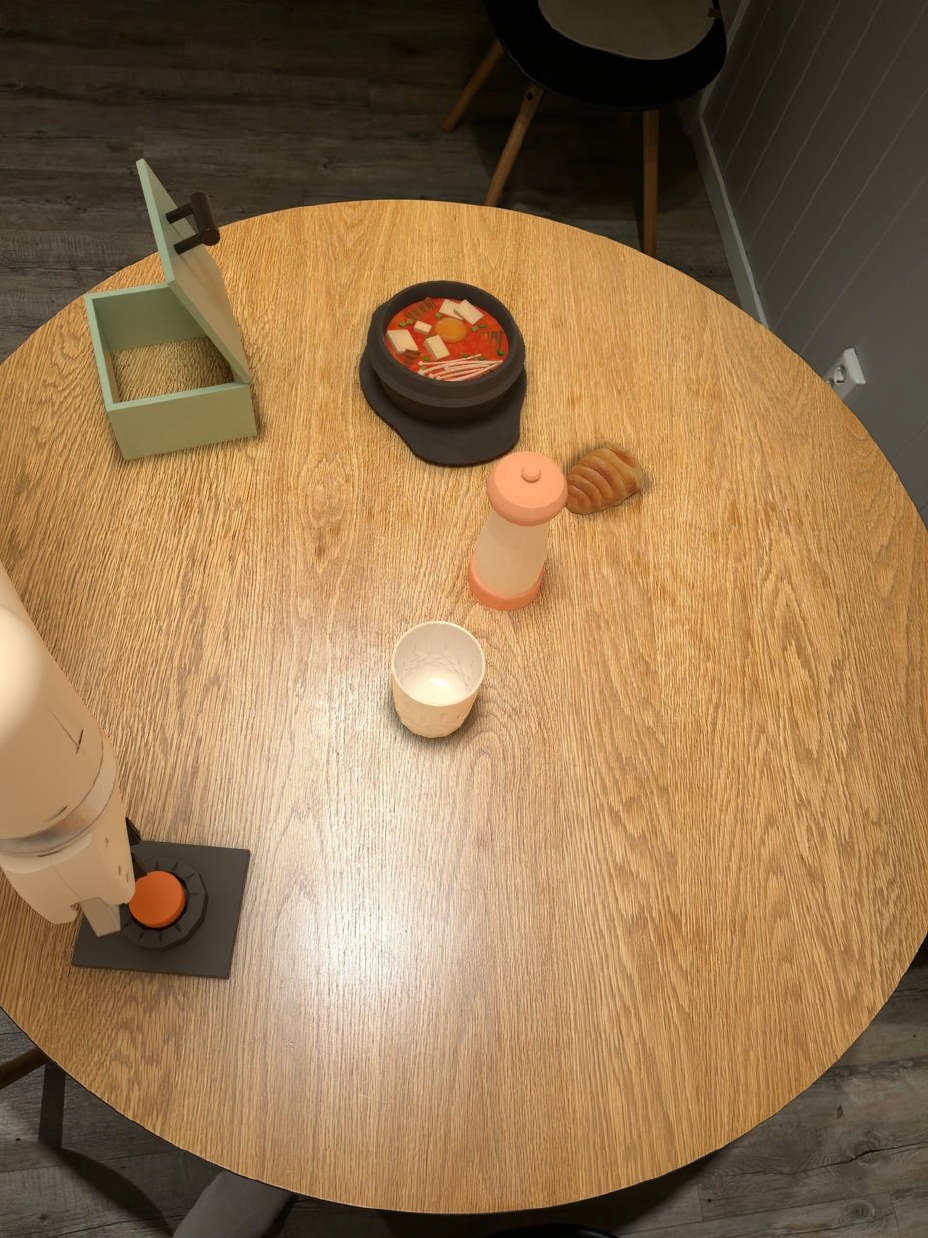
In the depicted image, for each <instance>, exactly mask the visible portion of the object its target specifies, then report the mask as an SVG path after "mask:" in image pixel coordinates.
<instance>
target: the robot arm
mask: <svg viewBox="0 0 928 1238" xmlns="http://www.w3.org/2000/svg"><path fill="white" fill-rule="evenodd" d="M71 683H72V682H70V680H69V678H67V676H66V674H65V673H64V672H63V670H62V669H61V667H60V666H59V664H58V663H57V661H56V660H55V659H54V657H53V656H52V654H51V652H50V650H49V649H48V647H47V645H46V644H45V641H44V639H43V638H42V636H41V635H40V632H39V631H38V629H37V627H36V626H35V624H34V622H33V620H32V619H31V617H30V615H29V612H28V611H27V609H26V607H25V605H24V603H23V601H22V600H21V598H20V596H19V594H18V592H17V590H16V587H14V584H13V582H12V581H11V578H10V576H9V574H8V572H7V569H6V568H5V566H4V564H3V562H2V560H1V559H0V868H1V870H2V872H3V874H4V875H5V877H6V879H7V880H8V881H9V883H10V884H11V886H12V888H13V889H14V890H15V892H17V894H18V895H19V896H20V897H21V898H22V899H23V900H24V901H25V902H26V903H27V904H28V905H29V906H30V907H31V908H32V909H33V910H34V911H35V912H36V913H38V914H39V915H40V916H41V917H43V918H44V919H46V921H49V922H50V923H52V924H55V925H60V924H65V923H71V922H74V921H75V920H76V918H77V916H78V915H79V911H78V909H77V907H75V906H74V905H76V904H78V905H79V907H80V908H81V910H82V912H83V914H85V916H86V917H87V919H88V921H89V923H90V924H91V926H92V928H93V930H94V931H95V933H96V935H97V936H98V937H101V936H104V935H107V934H111V933H114V932H117V931H120V929H121V928H120V913H119V904H122V903H125V904H127V903H128V902H129V901H130V900H131V899H132V897H133V895H134V893H135V879H139V878H142V877H145V876H147V869H146V866H145V865H144V864H143V863H142V862H141V861H140V860H139V858H138V857H137V856H136V855H135V854H134V853H133V852H130V847H131V846H134V845H137V844H139V843H140V841H141V840H142V836H141V831H140V830H139V829H138V828H137V826H136V825H135V824H134V823H133V821H132V820H131V819H130V818H129V817H128V816H126V815H125V811H124V805H123V799H122V795H121V794H122V793H121V789H120V784H119V778H120V764H119V759H118V754H117V752H116V750H115V747H114V744H113V742H112V741H111V739H110V738H109V736H108V735H107V734H106V732H105V731H104V729H103V727H102V725H100V724H99V722H98V720H97V719H96V718H95V716H94V715H93V713H92V712H91V711H90V710H89V708H88V707H87V705H86V704H85V702H84V701H83V699H82V698H81V696H80V695H79V694H78V691H76V689H75V688H74V686H73V685H72V684H71ZM125 816H126V817H125Z"/></svg>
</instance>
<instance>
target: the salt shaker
mask: <svg viewBox="0 0 928 1238" xmlns="http://www.w3.org/2000/svg"><path fill="white" fill-rule="evenodd" d="M566 478H567V477H565V474H564V472H563V470H562V469H561V468H560V467H559V466H558V465H557V464H556V462H555V461H553V459H551V458H549V457H547V456H546V455H544V454H541V453H538V452H535V451H525V450H524V451H518V452H513V453H509V454H508V455H505V456H504V457H502V458H500V459H498V460H497V461H496V463H495V464H494V466H492V468H491V469H490V471H488V474H487V477H486V480H485V494H486V496H487V499H488V502H489V504H490V506H489V512H488V517H487V518H486V520H485V523H484V524H483V526H482V528H481V530H480V532H479V534H478V537H477V540H476V546H475V549H474V550H473V552H472V555H471V557H470V561H469V564H468V569H467V583H468V586H469V588H470V591H471V593H472V594H473V596H474V597H475V598H476V599H477V601H479V603H481V604H483V605H485V606H486V607H487V608H491V609H494V610H497V611H502V612H503V611H504V612H512V611H516V610H521V609H523V608H525V607H526V606H527V605H529V604H531V603H532V602H533V600H534V599H535V598H536V597H537V596H538V593H539V590H540V587H541V583H542V581H543V577H544V574H545V573H544V571H545V570H544V564H545V561H546V558H547V555H548V533H549V532H548V530H549V527H550V524H551V522H552V521H551V520H553V519H555V518H556V517H558V515H559V514H561V512H562V511H563V509H564V508H566V507H565V504H566V501H567V498H568V490H567V480H566Z"/></svg>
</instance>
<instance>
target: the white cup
mask: <svg viewBox="0 0 928 1238" xmlns="http://www.w3.org/2000/svg"><path fill="white" fill-rule="evenodd" d="M390 661H391V663H390V664H391V683H392V685H391V686H392V695H393V701H394V708H395V710H396V714H397V716H398V719H399V721H400V723H401V724H402V725H404V726H405V728H407V729H408V730H409V731H410V732H411V733H413V734H414V735H417V736H420V737H425V738H428V739H434V738H440V737H441V738H442V737H447V736H449V735H451V734H452V733H453V732H456V730H458V729H459V728H461V727H462V725H463V723H464V722H465V720H466V719H467V717H468V716H469V714H470V712H471V710H472V707H473V705H474V703H475V700H476V699H477V696H478V693H479V691H480V688H481V685H482V683H483V680H484V677H485V674H486V656H485V653H484V650H483V647H482V646H481V644H480V642H479V640H477V638H476V637H475V636H474V635H473V634H472V633H471V632H470V631H469V630H467V629H466V628H464V627H462V626H460V625H458V624H456V623H453V622H449V621H444V620H429V621H424V622H422V623H418V624H416V625H414V626H412V627H410V628H409V629H407V631H405V632H404V633H403V634H401V636H400V637H399V639H398V640H397V642H396V643H395V645H394V648H393V650H392V654H391V660H390Z"/></svg>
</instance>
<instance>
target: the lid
mask: <svg viewBox="0 0 928 1238" xmlns="http://www.w3.org/2000/svg"><path fill="white" fill-rule="evenodd" d="M135 164H136V168H137V172H138V176H139V181H140V184H141V189H142V192H143V196H144V200H145V205H146V208H147V211H148V216H149V221H150V224H151V227H152V228H151V229H152V232H153V236H154V240H155V243H156V247H157V251H158V255H159V260H160V263H161V268H162V271H163V275H164V280H165V282H166V283H167V285H168V286H169V287H170V288H171V290H172V291H173V292H174V294H175V295H176V296H177V297H178V299H179V300H180V301H181V302H182V304H183V305H184V306H185V308H186V309H187V310H188V311H189V313H190V314H191V315H192V316H193V318H194V319H195V320H196V322H197V323H198V324H199V325H200V327H201V328H202V329H203V330H204V332H205V333H206V334H207V336H206V337H208V339H210V341H211V342H212V344H214V346H215V347H216V349H217V350H218V351H219V352H220V354H221V355H222V356H223V357H224V359H225V360H226V361H227V362H228V364H229V366H230V365H231V366H232V367H233V369H234V370H235V371H236V373H237V374H238V375H239V376H240V378H241V379H242V380H243V381H244V383H248V382H252V381H253V378H252V375H251V371H250V368H249V367H250V366H249V364H248V361H247V357H246V353H245V351H244V346H243V343H242V339H241V337H240V332H239V329H238V327H237V322H236V320H235V316H234V312H233V308H232V306H231V301H230V299H229V294H228V291H227V288H226V284H225V281H224V279H223V278H224V277H223V274H222V271H221V268H220V266H219V265H218V263H217V262H216V261H215V259H214V258H213V256H212V255H211V254H210V253H209V250H208V249H207V248H206V246H207V247H214V246H216V245H217V244H219V243H220V241H221V233H220V229H219V226H218V222H217V219H216V216H215V212H214V209H213V206H212V202H211V199H210V196H209V195H208V194H207V193H206V192H204V191H200V190H199V191H195V192H193V193H192V194H190V196H189V199H188V201H189V202H187V203H185V204H183V205H180V206H177V205H176V204H175V202H174V200H173V198H172V197H171V196H170V195H169V193H168V192H167V190H166V188H164V186H163V185H162V183H161V181H160V180H159V179H158V177H157V175H156V174H155V173H154V172H153V170H152V168H151V167H150V166H149V164H148V163H147V161H146V159H144V158H141V159H138V160H136V161H135ZM190 216H192V217H193V220H194V224H195V227H196V230H197V233H196V232H195V231H194V229H193V227H192V226H191V225H190V224H189V222H188V220H187V219H186V218H187V217H190Z"/></svg>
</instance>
